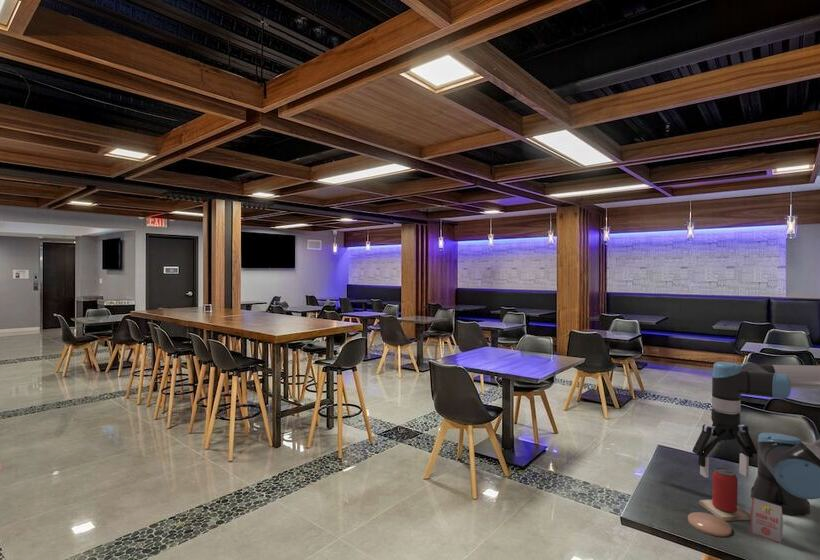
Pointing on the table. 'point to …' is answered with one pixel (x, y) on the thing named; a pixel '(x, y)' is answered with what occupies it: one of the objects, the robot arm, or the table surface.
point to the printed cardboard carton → (767, 520)
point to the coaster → (709, 524)
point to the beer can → (724, 489)
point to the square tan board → (726, 516)
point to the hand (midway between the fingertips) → (724, 475)
